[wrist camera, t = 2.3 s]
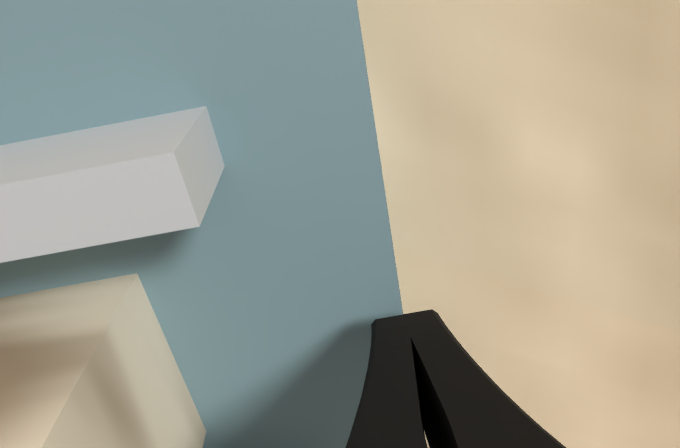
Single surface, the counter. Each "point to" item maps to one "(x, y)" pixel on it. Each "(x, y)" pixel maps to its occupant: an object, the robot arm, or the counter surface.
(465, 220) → the counter surface
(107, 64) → the board
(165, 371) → the block
